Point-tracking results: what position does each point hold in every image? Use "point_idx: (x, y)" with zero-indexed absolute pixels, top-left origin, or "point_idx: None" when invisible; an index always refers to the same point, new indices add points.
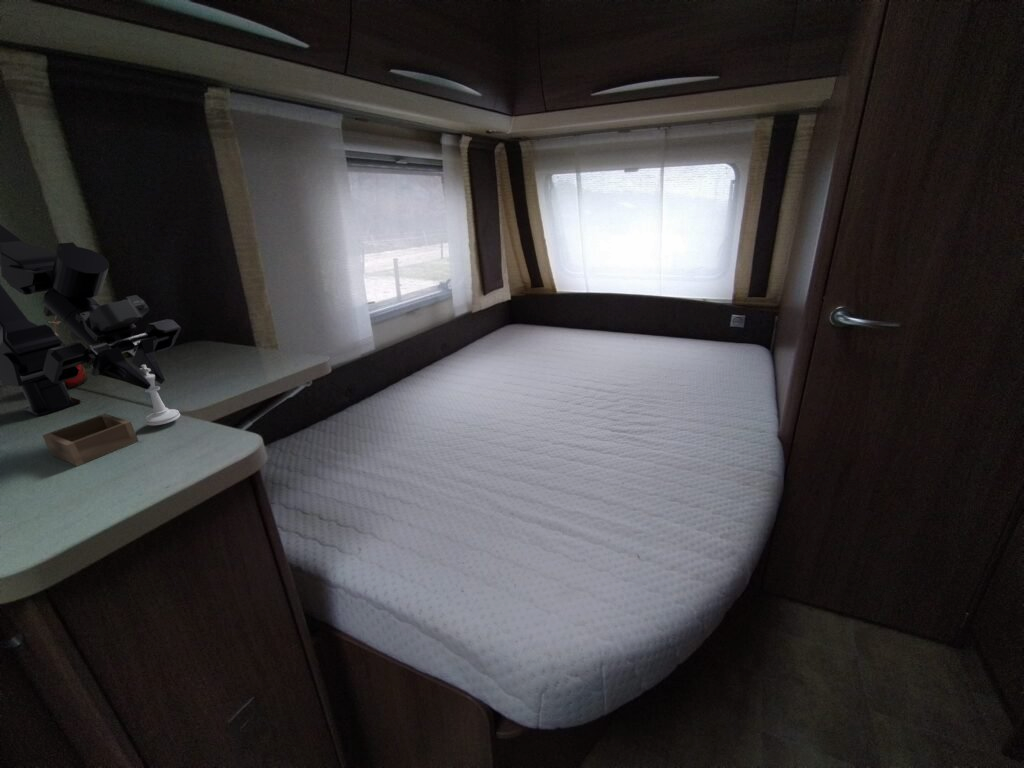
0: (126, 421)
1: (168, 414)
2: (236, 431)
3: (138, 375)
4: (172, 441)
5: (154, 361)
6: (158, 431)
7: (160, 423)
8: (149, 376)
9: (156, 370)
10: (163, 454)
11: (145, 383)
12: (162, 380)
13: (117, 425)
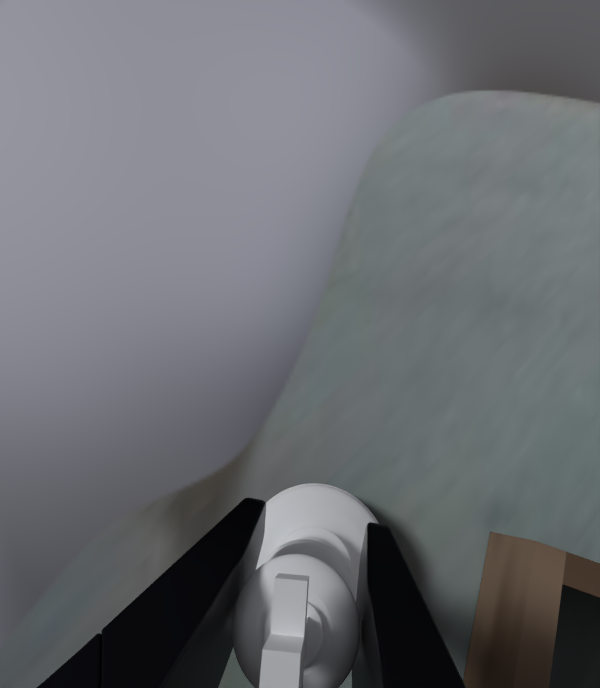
0: (538, 575)
1: (322, 508)
2: (355, 198)
3: (408, 624)
4: (460, 369)
5: (111, 656)
6: (392, 518)
7: (373, 516)
8: (319, 569)
9: (217, 570)
10: (550, 320)
11: (397, 544)
12: (264, 503)
13: (593, 585)
